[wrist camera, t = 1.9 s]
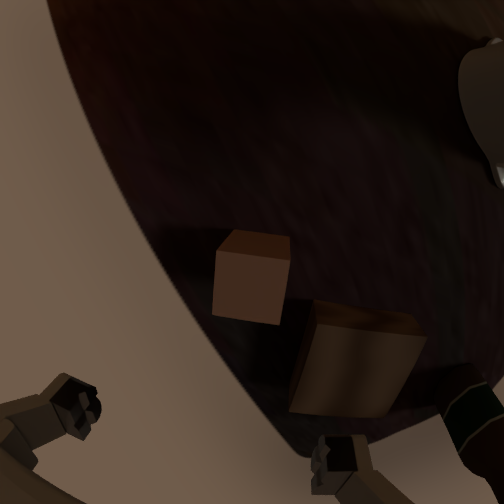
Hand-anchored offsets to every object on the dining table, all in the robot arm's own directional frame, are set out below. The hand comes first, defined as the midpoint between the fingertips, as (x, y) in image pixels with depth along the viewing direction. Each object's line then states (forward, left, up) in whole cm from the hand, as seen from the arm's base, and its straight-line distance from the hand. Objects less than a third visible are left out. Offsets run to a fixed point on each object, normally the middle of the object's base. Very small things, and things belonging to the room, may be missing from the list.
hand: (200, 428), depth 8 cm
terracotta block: (0, 0, -19) cm, 19 cm away
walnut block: (-11, +9, -20) cm, 24 cm away
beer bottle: (-29, +14, -20) cm, 38 cm away
